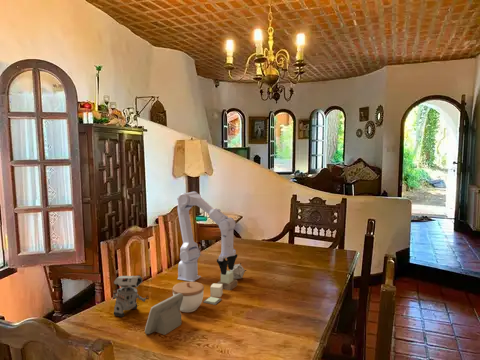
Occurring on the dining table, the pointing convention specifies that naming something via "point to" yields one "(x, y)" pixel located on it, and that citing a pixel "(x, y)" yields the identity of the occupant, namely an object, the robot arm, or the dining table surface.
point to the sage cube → (227, 277)
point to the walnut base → (229, 285)
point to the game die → (238, 271)
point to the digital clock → (165, 315)
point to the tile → (212, 300)
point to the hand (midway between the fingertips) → (227, 271)
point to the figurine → (126, 294)
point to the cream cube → (216, 290)
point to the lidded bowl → (189, 295)
